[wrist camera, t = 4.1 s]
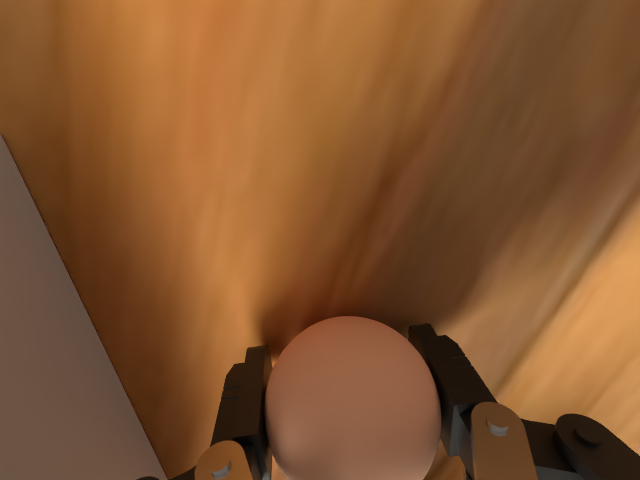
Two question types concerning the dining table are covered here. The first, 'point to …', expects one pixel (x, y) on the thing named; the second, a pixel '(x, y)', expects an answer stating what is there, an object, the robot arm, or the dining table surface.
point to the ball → (352, 404)
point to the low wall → (55, 363)
